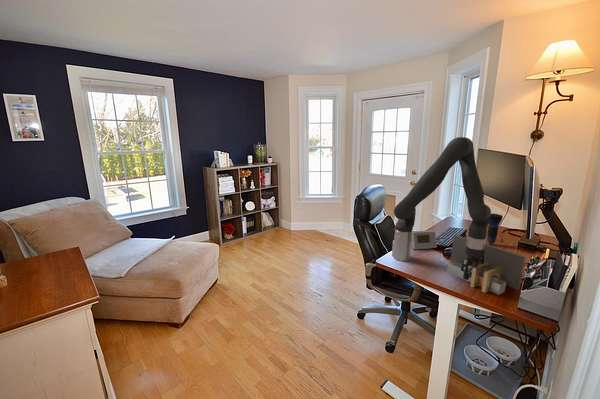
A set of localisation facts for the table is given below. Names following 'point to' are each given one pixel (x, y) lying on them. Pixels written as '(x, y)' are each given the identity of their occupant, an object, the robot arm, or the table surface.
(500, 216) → the flashlight
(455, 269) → the grey slab
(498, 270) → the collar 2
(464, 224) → the table surface
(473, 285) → the beige arch
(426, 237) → the digital clock
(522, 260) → the firebox panel
